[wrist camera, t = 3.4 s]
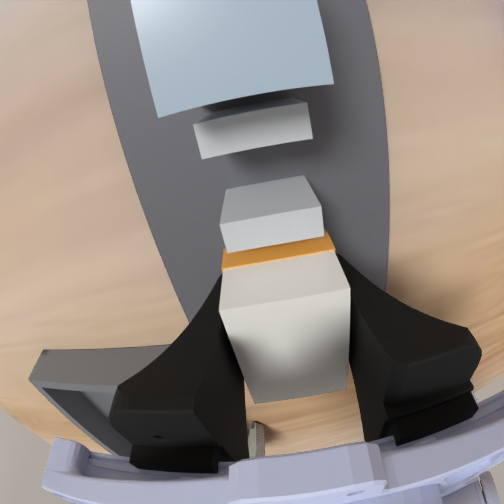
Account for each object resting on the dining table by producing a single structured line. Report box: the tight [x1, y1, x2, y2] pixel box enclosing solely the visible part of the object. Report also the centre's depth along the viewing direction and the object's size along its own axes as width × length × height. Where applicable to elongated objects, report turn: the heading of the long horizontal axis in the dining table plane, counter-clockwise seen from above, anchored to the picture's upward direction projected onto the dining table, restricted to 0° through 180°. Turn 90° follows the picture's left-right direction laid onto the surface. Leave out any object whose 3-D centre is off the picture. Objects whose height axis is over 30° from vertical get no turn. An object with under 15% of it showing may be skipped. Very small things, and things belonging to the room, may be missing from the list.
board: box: [87, 0, 389, 323], centre depth 9 cm, size 10×26×4 cm, turn 11°
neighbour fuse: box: [131, 0, 334, 118], centre depth 6 cm, size 4×5×5 cm
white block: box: [219, 230, 350, 404], centre depth 11 cm, size 4×5×5 cm
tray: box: [28, 345, 170, 457], centre depth 21 cm, size 13×17×3 cm
